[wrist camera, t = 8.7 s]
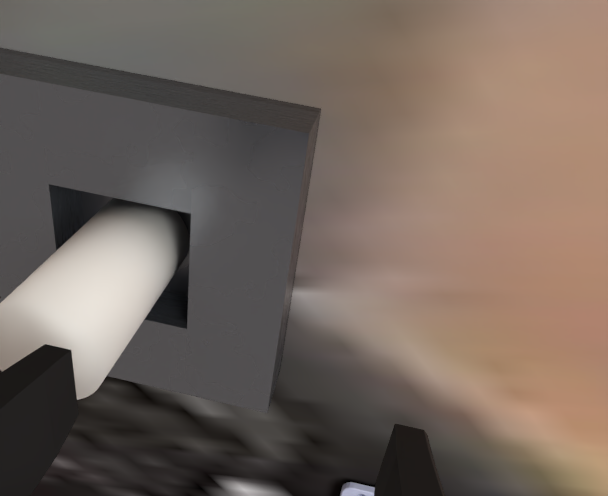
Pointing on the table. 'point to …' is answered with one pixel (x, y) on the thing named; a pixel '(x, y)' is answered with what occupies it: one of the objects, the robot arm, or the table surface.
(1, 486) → the robot arm
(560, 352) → the table surface
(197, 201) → the socket block
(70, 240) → the peg
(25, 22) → the table surface
